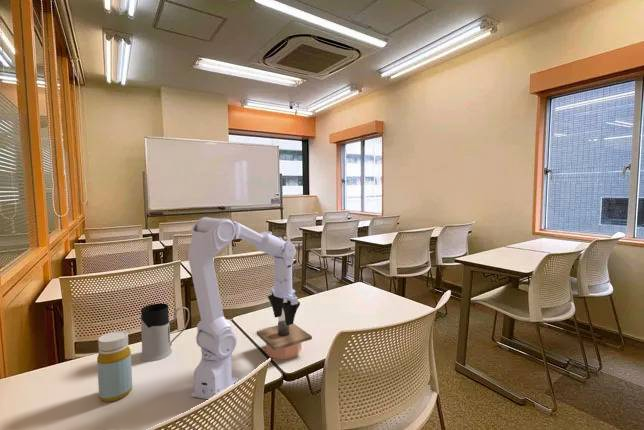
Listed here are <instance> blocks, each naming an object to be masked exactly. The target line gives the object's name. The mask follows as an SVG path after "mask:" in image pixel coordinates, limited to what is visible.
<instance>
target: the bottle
mask: <svg viewBox="0 0 644 430" xmlns="http://www.w3.org/2000/svg"><path fill="white" fill-rule="evenodd" d="M97 343H98V355H97V358H96V359H97V364H96V365H97V381H98V384H97V385H98V397H99V400H101V401H103V402H106V403H111V402H116V401H119V400H121V399H123V398H125V397H126V396H127V395H129V393H130V392H131V391H132V390H133V373H132V353H131V351H132V350H131V348H130V347H129V333H128V332H127V331H125V330H115V331H111V332H108V333H104V334H102V335H101V336H100V337H98V340H97Z"/></svg>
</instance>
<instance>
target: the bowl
mask: <svg viewBox="0 0 644 430" xmlns="http://www.w3.org/2000/svg"><path fill="white" fill-rule="evenodd" d="M265 344H266V343H265ZM265 347H266V348H265V350H266V354H268V356H269V357H270V358H271V357H273V358H272V359H278V360H289V359H291V358H294V357H298V355H299V354H300V352H301V351H302V342H301V343H298V344H295V345H292V346H288V347H285V348H282V349H279V350H276V351H274V350H273V349H272V348H271V347H270V346H268V345H267V344H266V346H265Z"/></svg>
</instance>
